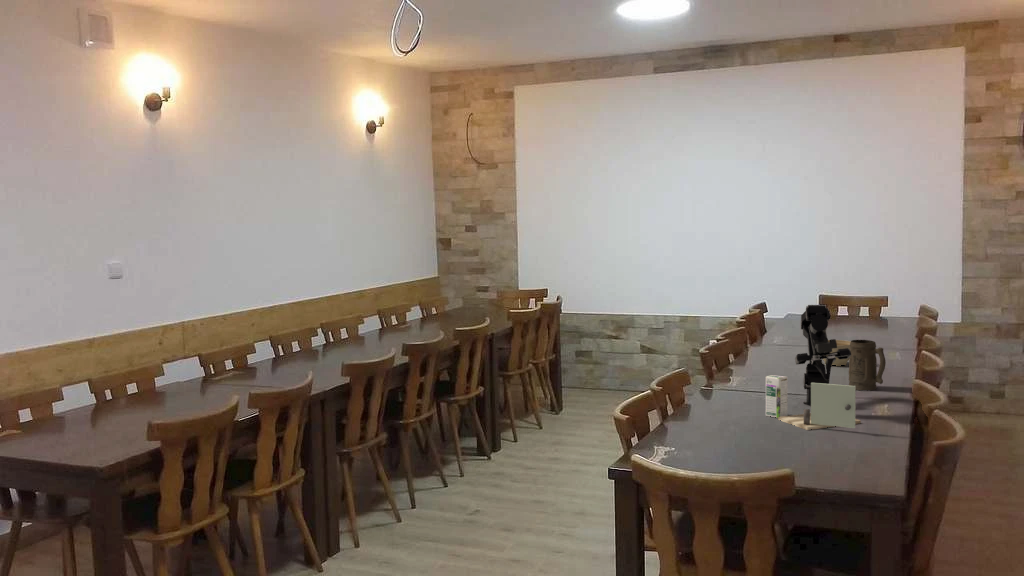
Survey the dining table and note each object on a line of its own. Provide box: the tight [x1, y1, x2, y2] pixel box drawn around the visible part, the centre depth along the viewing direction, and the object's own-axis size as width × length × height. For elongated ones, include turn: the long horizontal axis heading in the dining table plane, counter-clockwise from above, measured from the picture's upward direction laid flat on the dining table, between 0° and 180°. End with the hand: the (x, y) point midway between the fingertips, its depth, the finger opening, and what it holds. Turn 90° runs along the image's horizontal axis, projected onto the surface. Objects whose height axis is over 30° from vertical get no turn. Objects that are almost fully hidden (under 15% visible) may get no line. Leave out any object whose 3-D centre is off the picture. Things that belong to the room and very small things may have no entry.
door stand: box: [777, 408, 862, 431], centre depth 291 cm, size 16×22×6 cm
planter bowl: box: [822, 339, 852, 367], centre depth 397 cm, size 16×16×11 cm
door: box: [810, 383, 856, 429], centre depth 279 cm, size 3×14×14 cm, turn 57°
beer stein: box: [848, 339, 886, 392], centre depth 341 cm, size 15×11×20 cm
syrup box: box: [765, 374, 788, 419], centre depth 301 cm, size 6×6×14 cm
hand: (827, 379), depth 300 cm, fingers closed
